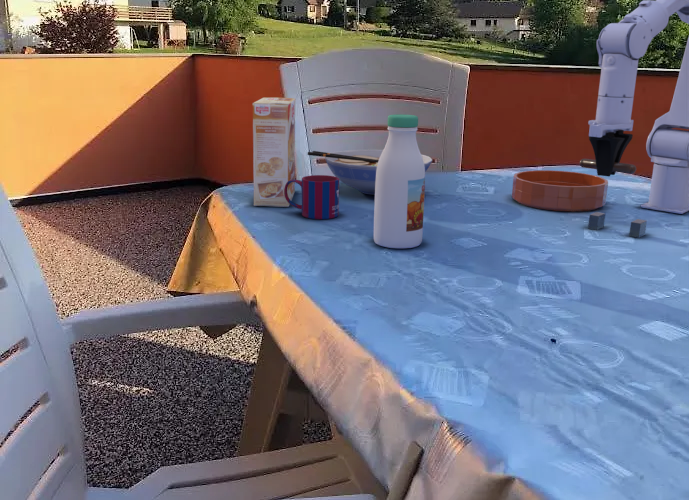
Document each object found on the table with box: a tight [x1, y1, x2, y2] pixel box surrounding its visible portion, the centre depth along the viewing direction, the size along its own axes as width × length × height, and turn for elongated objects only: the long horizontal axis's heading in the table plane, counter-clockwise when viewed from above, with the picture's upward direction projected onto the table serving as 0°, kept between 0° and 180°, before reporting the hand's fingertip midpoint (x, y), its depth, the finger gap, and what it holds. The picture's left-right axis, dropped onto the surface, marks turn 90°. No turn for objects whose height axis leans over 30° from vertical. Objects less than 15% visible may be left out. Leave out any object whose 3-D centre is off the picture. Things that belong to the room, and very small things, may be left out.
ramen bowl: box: [307, 149, 433, 196], centre depth 150 cm, size 25×23×8 cm
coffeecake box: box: [252, 97, 296, 208], centre depth 139 cm, size 15×7×20 cm, turn 179°
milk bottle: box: [373, 114, 426, 249], centre depth 110 cm, size 8×8×20 cm
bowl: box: [511, 169, 609, 212], centre depth 144 cm, size 18×18×5 cm
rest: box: [587, 211, 648, 239], centre depth 122 cm, size 9×3×2 cm, turn 48°
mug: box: [284, 174, 340, 220], centre depth 129 cm, size 7×10×7 cm
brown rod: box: [579, 158, 637, 175], centre depth 125 cm, size 10×2×2 cm, turn 48°
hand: (606, 174), depth 125 cm, fingers closed on brown rod, 1 cm apart
